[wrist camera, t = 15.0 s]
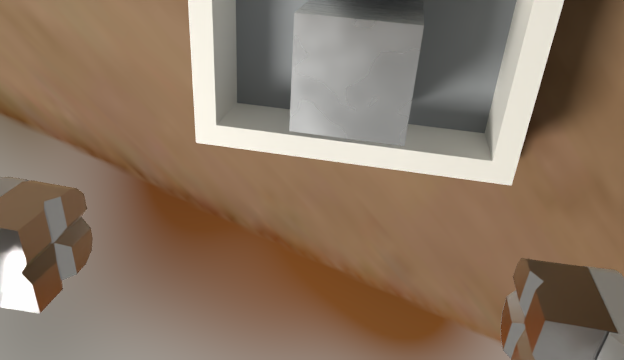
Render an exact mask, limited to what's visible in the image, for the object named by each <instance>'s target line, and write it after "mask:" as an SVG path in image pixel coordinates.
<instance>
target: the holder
mask: <svg viewBox="0 0 624 360" xmlns="http://www.w3.org/2000/svg"><path fill="white" fill-rule="evenodd" d="M308 1H309V0H188V8H189V26H190V44H191V61H192V79H193V97H194V115H195V133H196V143H202V144H210V145H217V146H224V147H232V148H239V149H246V150H254V151H261V152H269V153H276V154H283V155H291V156H298V157H305V158H313V159H320V160H327V161H335V162H342V163H350V164H357V165H364V166H372V167H379V168H386V169H394V170H401V171H408V172H416V173H423V174H431V175H438V176H445V177H453V178H460V179H467V180H475V181H482V182H490V183H497V184H504V185H512V182H513V178H514V175H515V171H516V168H517V164H518V161H519V157H520V154H521V150H522V147H523V143H524V140H525V136H526V133H527V129H528V126H529V122H530V119H531V115H532V112H533V108H534V105H535V101H536V97H537V94H538V90H539V87H540V83H541V80H542V76H543V73H544V69H545V66H546V62H547V59H548V55H549V52H550V48H551V45H552V41H553V38H554V34H555V31H556V27H557V24H558V20H559V17H560V13H561V10H562V6H563V3H564V0H408V1H419V2H423V10H424V29H423V35H422V42H421V48H420V54H419V60H418V66H417V72H416V78H415V85H414V91H413V97H412V103H411V109H410V115H409V121H408V128H407V134H406V140H405V146H399V145H392V144H384V143H376V142H369V141H361V140H354V139H346V138H338V137H331V136H323V135H315V134H308V133H300V132H292V131H289V126H290V102H291V78H292V54H293V31H294V13H295V12H296V11H297V10H298V9H299V8H301V7H302V6H303V5H304V4H305V3H306V2H308Z"/></svg>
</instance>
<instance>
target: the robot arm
mask: <svg viewBox="0 0 624 360" xmlns="http://www.w3.org/2000/svg"><path fill="white" fill-rule="evenodd" d="M86 210H87V206H86V202H85V197H84V194H83V193H82V192H81V191H79V190H78V189H76V188H71V187H66V186H60V185H54V184H48V183H43V182H37V181H29V180H26V179H20V178H13V177H0V307H3V308H9V309H15V310H22V311H27V312H34V313H41V312H42V311H43V310H44V309H45V308H46V307H47V306H48V304H49V303H50V302H51V301H52V300H53V299H54V298H55V297H56V296H57V295H58V294H59V293H60V292H61V291H62V289H63V283H62V280H64V279H67V278H69V277H71V276H74V275H76V274H77V273H78V272H79V271H80V270H81V269H82V268H83V267H84V266H85V264H86V263H87V260H88V258H89V255H90V253H91V250H92V233H91V228H90V227H89V225H88V224H87V223H86V222H85V221H84V219H83V218H82V216H83V214H84V213H85V211H86ZM513 279H514V283H515V287H516V291H514V292H513V293H511V294H510V295H508V296H507V297H506V301H505V304H504V308H503V311H502V319H501V341H502V348H503V351H504V352H505V353H506V354H507V355H508V356H509V357H510V358H511V360H624V278H623V276H622V274H621V273H619V272H618V271H616V270H612V269H603V268H595V267H587V266H576V265H568V264H561V263H554V262H547V261H540V260H532V259H525V258H521V259H520V261H519V262H518V264H517V266H516V269H515V272H514V275H513Z"/></svg>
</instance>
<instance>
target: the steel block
mask: <svg viewBox="0 0 624 360" xmlns="http://www.w3.org/2000/svg"><path fill="white" fill-rule="evenodd" d="M423 29H424V10H423V2H419V1H408V0H309V1H308V2H306V3H305V4H304V5H303V6H302V7H301V8H299V9H298V10H297V11H296V12H295V13H294V31H293V54H292V78H291V102H290V126H289V131H292V132H300V133H308V134H315V135H323V136H331V137H338V138H346V139H354V140H361V141H369V142H376V143H384V144H392V145H399V146H405V140H406V134H407V128H408V121H409V115H410V109H411V103H412V97H413V91H414V85H415V78H416V72H417V66H418V60H419V54H420V48H421V42H422V35H423Z"/></svg>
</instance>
